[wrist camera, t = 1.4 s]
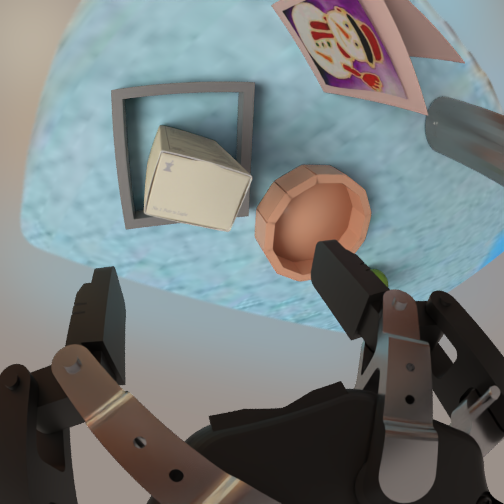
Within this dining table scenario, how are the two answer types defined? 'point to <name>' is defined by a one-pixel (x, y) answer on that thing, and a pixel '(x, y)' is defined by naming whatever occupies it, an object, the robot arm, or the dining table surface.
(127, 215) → the open rectangular frame
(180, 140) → the skincare box
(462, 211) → the dining table surface
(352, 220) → the bowl
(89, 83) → the dining table surface
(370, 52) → the greeting card
